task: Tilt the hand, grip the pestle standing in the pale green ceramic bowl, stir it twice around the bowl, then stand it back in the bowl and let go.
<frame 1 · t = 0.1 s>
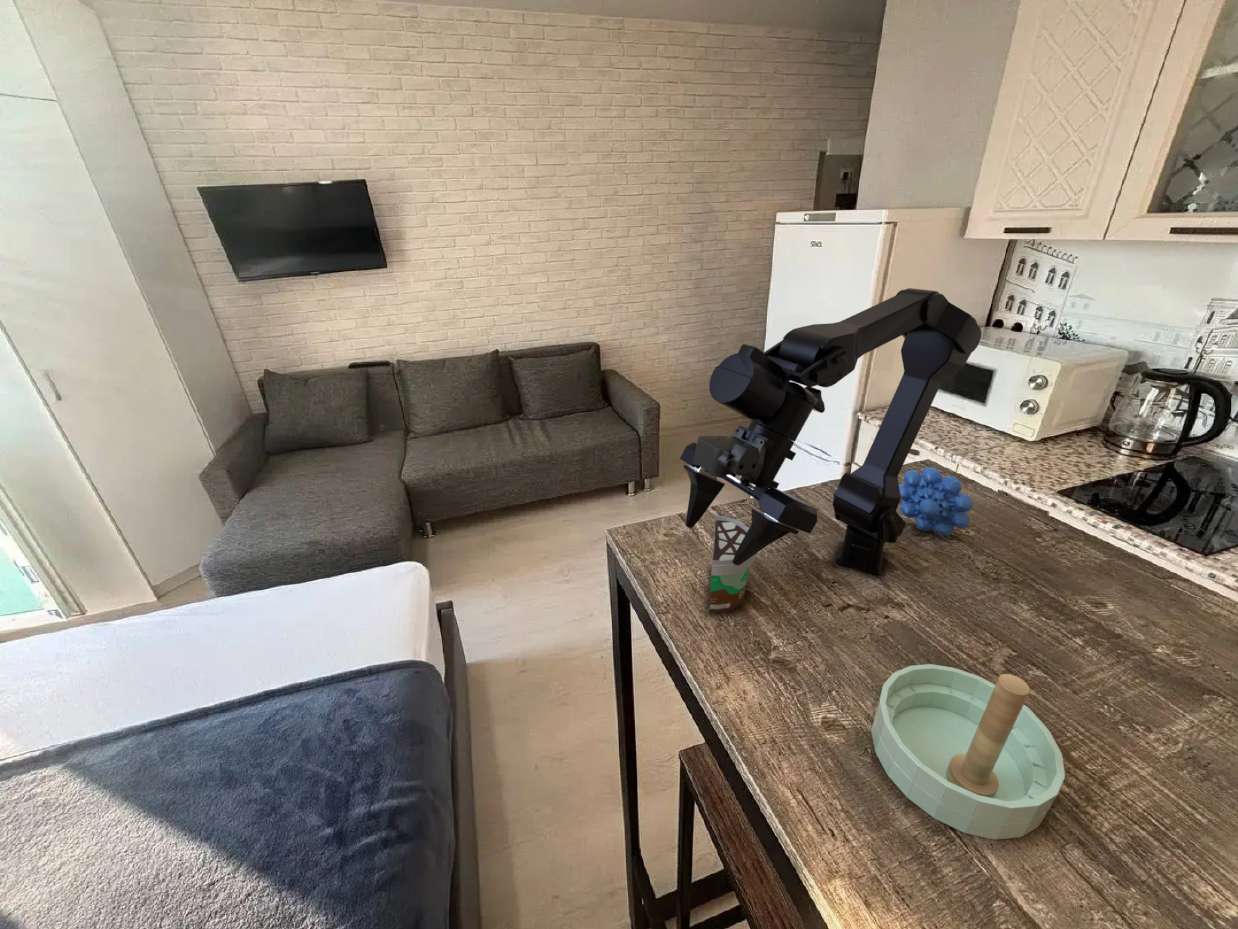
hand: (710, 544, 63), 15 cm above the table, tool tilted 35°, fingers open, 9 cm apart
grapes: (922, 533, 88), on the table
bowl: (951, 761, 53), on the table
pestle: (969, 783, 50), point 1 cm above the table, touching bowl
food container: (731, 594, 77), on the table
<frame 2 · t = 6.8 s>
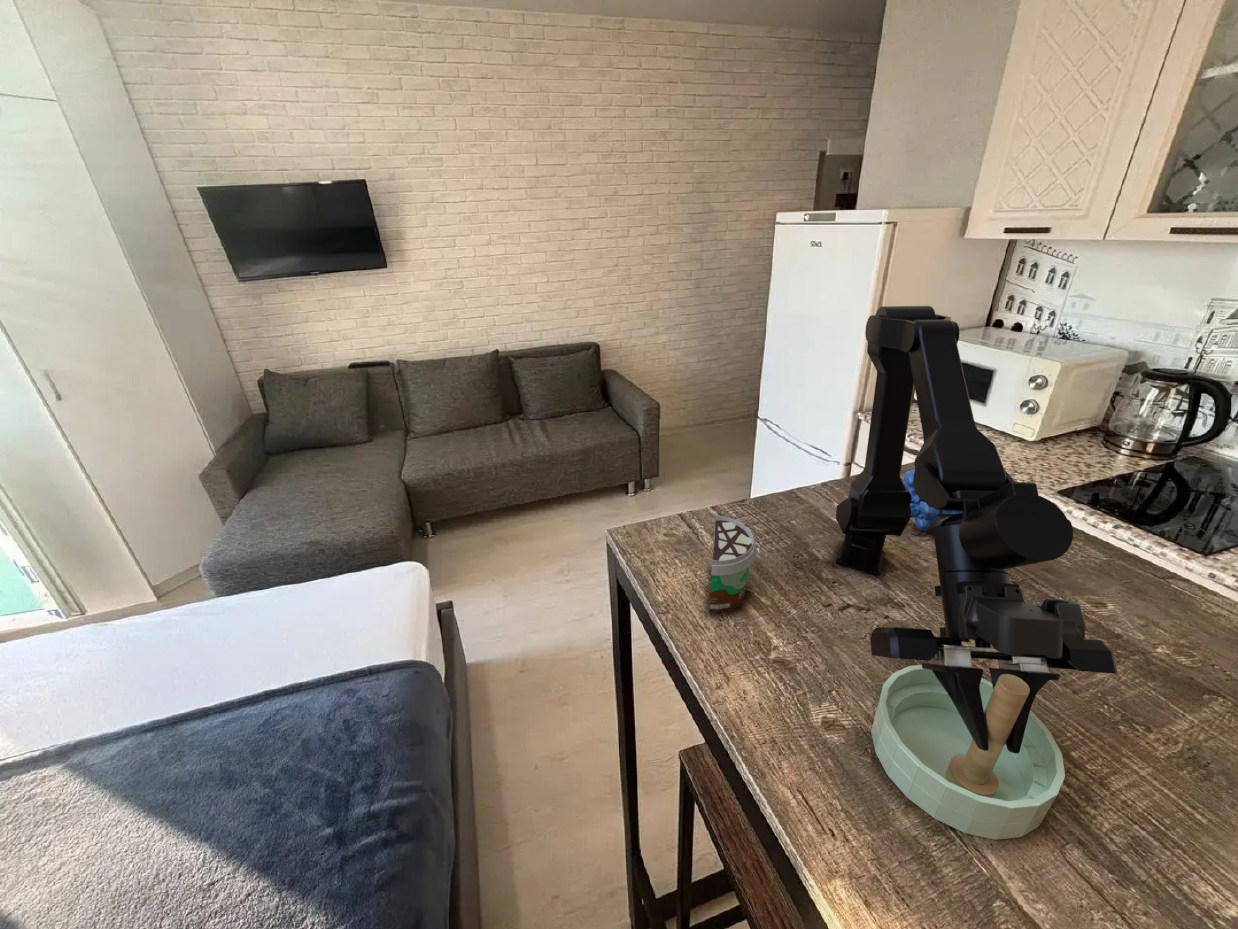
hand: (998, 751, 46), 8 cm above the table, tool tilted 45°, fingers closed on pestle, 2 cm apart
pestle: (969, 783, 50), point 1 cm above the table, touching bowl, gripper
everything else where it was.
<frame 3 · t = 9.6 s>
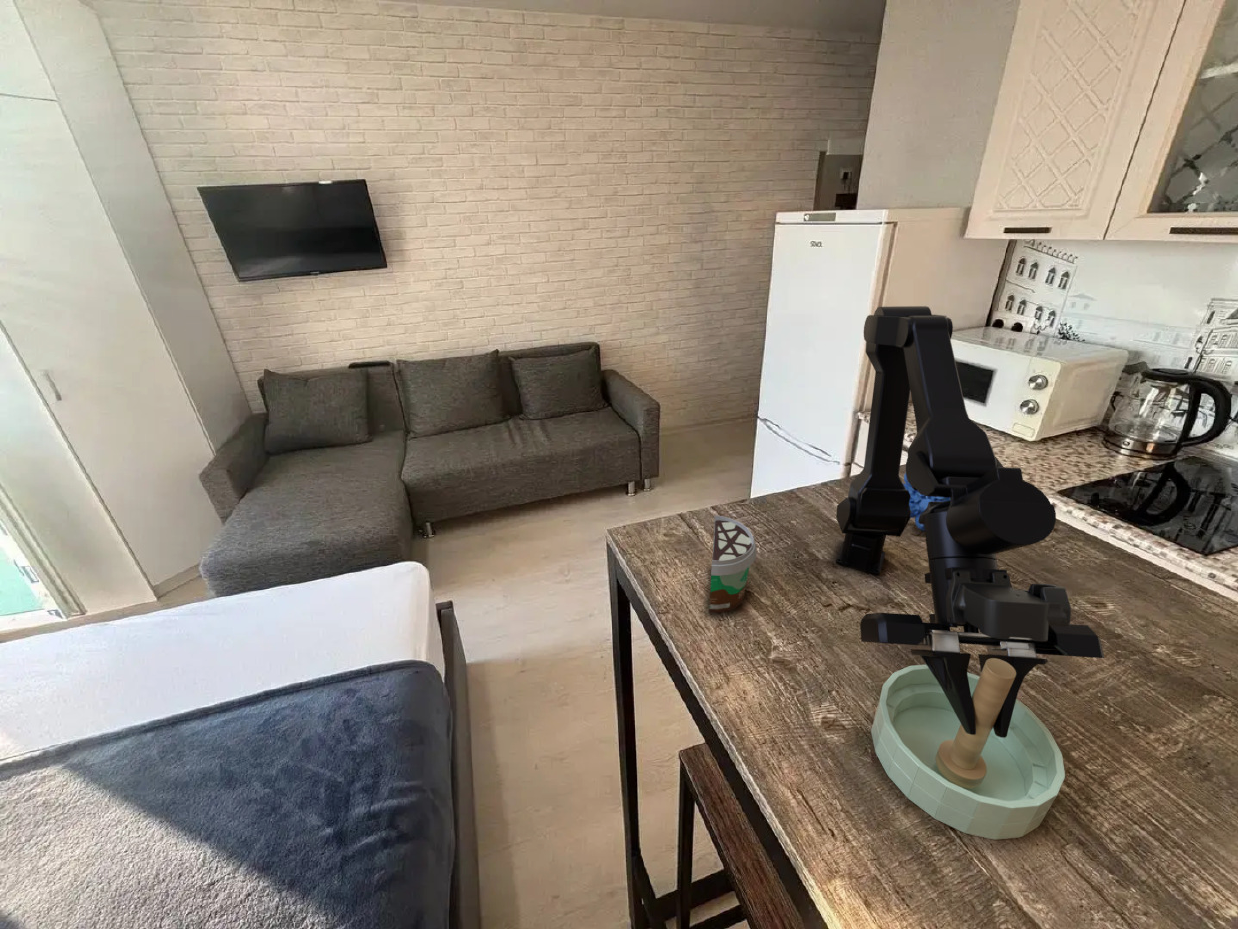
hand: (985, 735, 46), 9 cm above the table, tool tilted 45°, fingers closed on pestle, 2 cm apart
pestle: (958, 768, 50), point 2 cm above the table, touching gripper
everything else where it was.
when the fingers open (8 cm above the table, at t = 12.9 s): pestle stays where it is, resting on bowl.
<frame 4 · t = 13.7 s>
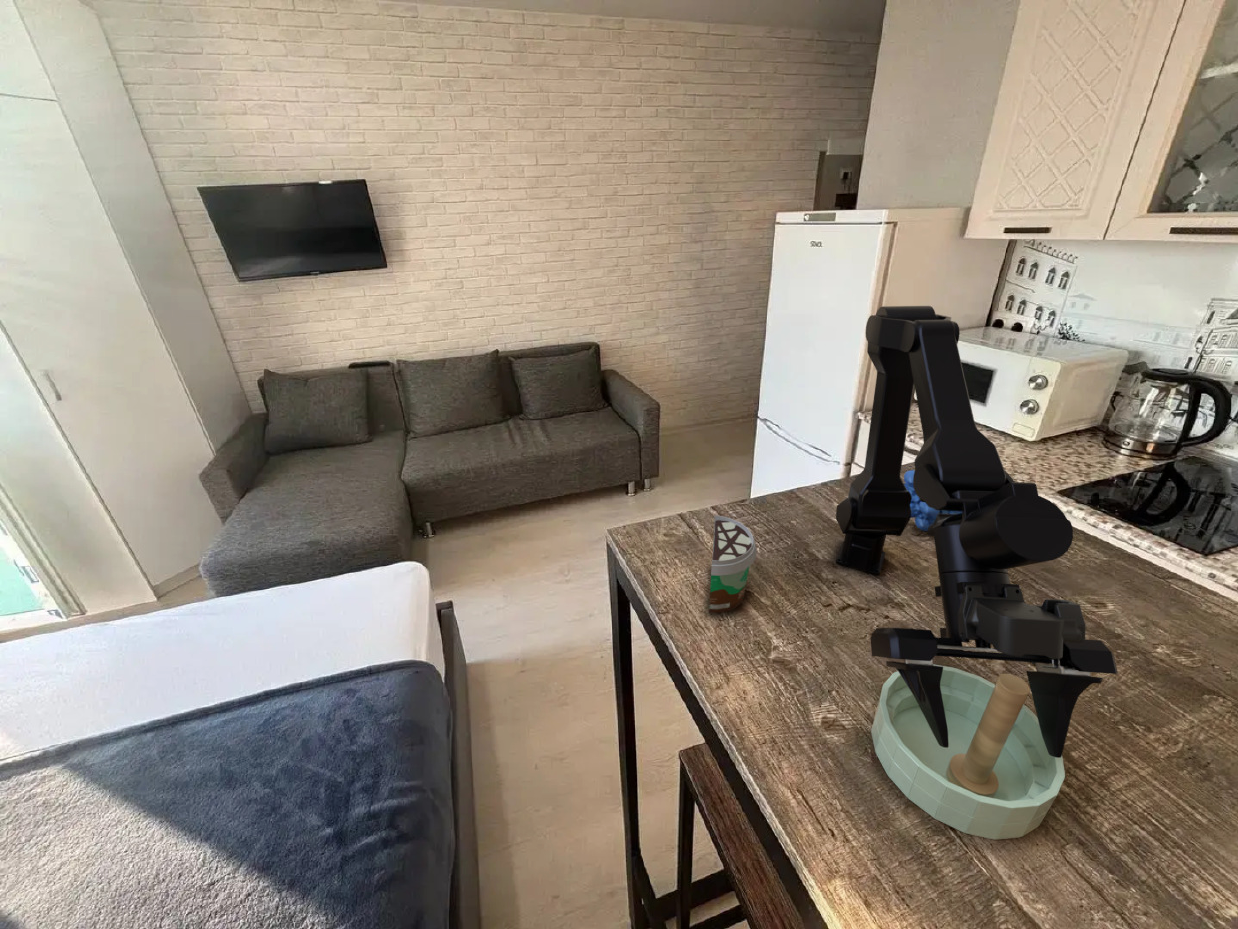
hand: (998, 751, 46), 8 cm above the table, tool tilted 45°, fingers open, 9 cm apart
pestle: (969, 782, 50), point 1 cm above the table, touching bowl
everything else where it was.
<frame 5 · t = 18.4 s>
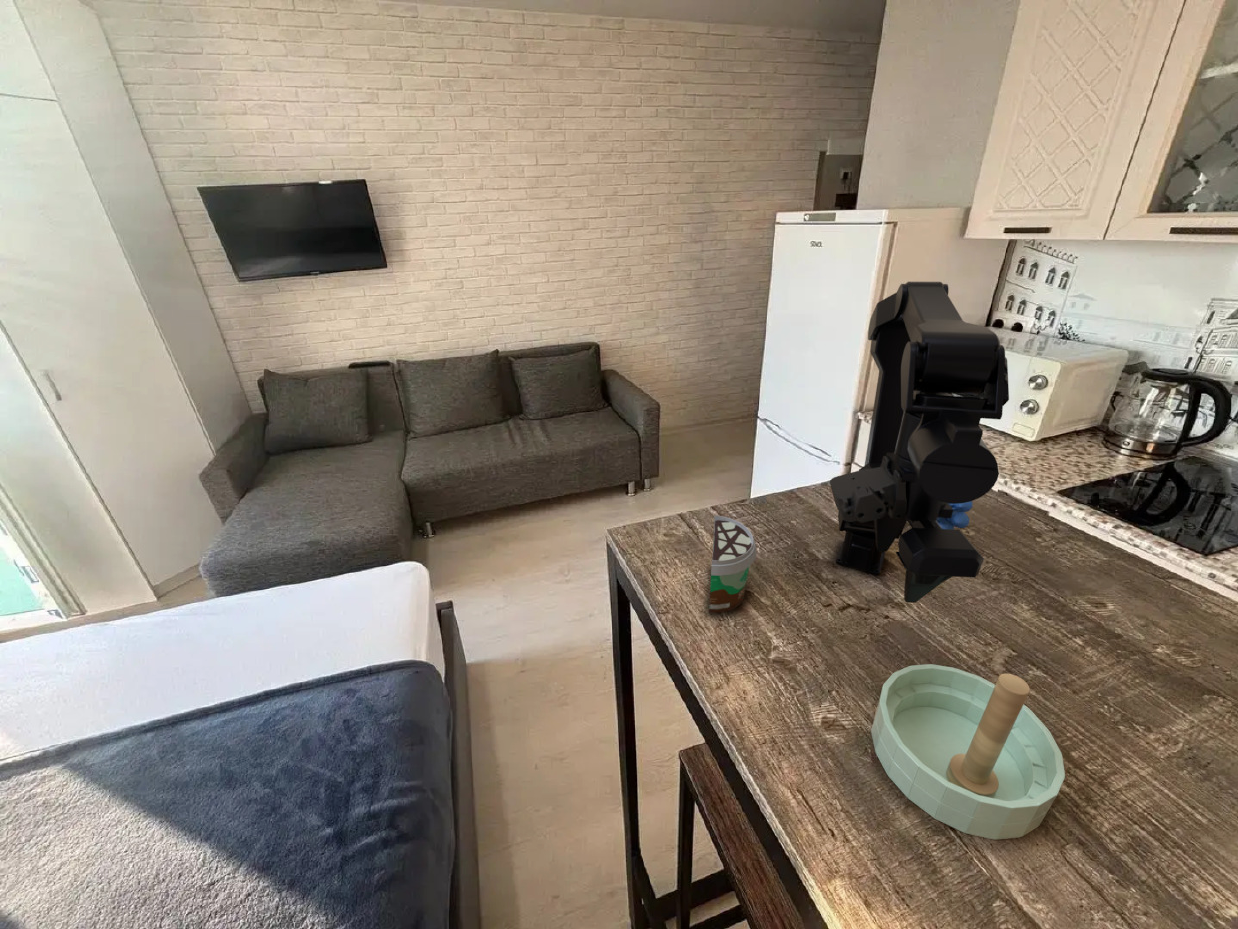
hand: (894, 574, 59), 13 cm above the table, tool pointing down, fingers open, 9 cm apart
nothing on the table moved.
at the end: pestle inside the target area in the bowl (2.6 cm from its centre), point 0.6 cm above the bowl's base; pestle tilted 0°; the gripper is holding nothing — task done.
